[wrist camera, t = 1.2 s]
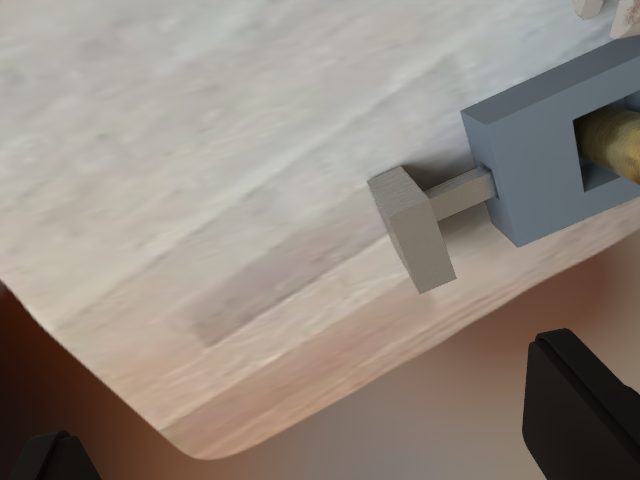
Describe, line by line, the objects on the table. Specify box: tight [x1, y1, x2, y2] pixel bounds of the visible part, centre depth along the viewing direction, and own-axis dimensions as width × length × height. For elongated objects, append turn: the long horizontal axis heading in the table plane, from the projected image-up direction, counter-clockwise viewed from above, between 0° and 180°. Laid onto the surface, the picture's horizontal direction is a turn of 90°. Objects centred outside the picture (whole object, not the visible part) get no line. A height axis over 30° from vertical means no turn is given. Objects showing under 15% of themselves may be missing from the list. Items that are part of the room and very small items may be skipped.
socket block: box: [460, 35, 640, 247], centre depth 31 cm, size 12×9×4 cm
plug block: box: [367, 164, 498, 294], centre depth 30 cm, size 9×6×6 cm
